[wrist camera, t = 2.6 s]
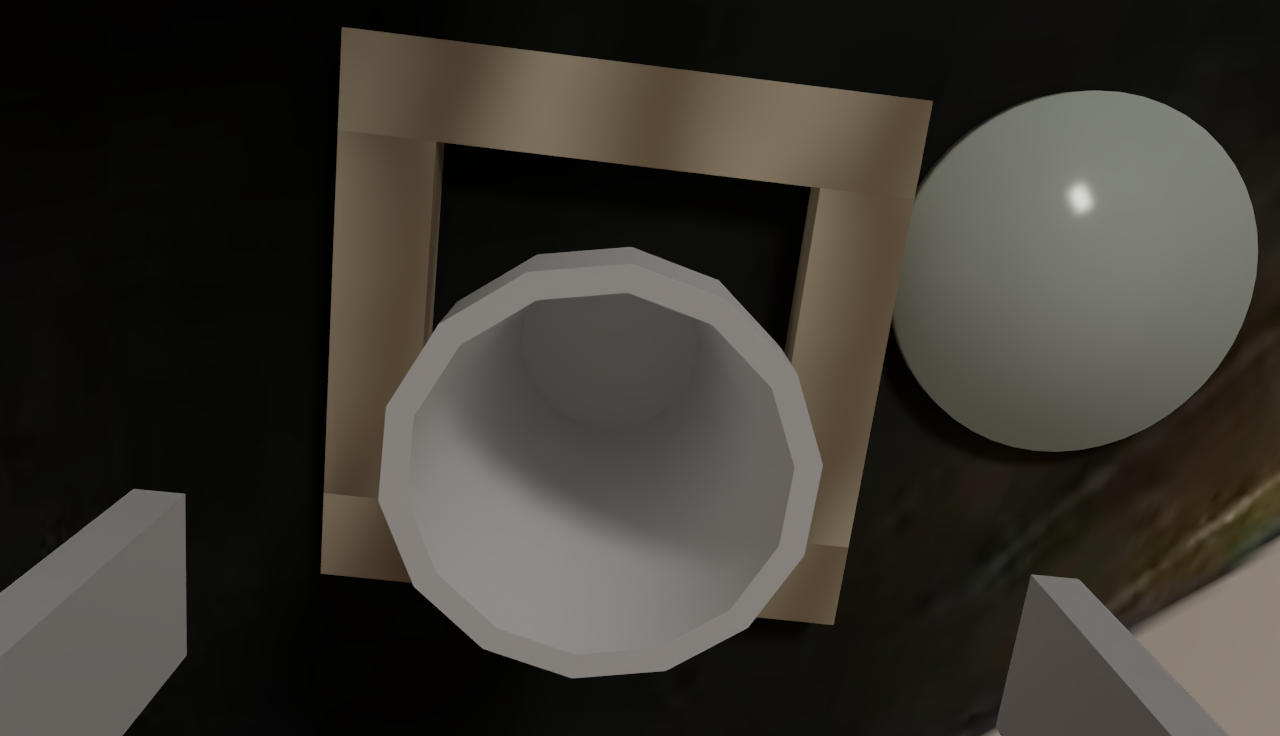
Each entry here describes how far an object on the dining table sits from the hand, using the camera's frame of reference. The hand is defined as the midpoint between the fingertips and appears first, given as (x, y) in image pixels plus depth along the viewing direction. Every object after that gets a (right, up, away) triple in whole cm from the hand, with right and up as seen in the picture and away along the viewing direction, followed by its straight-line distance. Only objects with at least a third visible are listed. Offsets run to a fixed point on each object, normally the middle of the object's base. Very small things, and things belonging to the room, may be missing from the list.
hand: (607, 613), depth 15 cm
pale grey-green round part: (+15, +7, +18) cm, 24 cm away
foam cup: (-1, +5, +18) cm, 19 cm away
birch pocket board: (-1, +5, +18) cm, 19 cm away
